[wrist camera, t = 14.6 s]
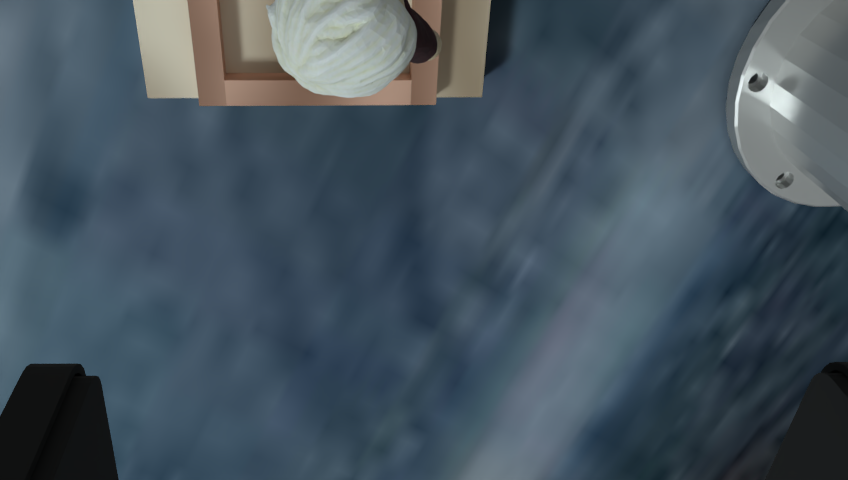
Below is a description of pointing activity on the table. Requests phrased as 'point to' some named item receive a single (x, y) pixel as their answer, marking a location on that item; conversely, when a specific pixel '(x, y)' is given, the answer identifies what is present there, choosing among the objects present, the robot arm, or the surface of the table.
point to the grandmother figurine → (349, 43)
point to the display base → (258, 65)
